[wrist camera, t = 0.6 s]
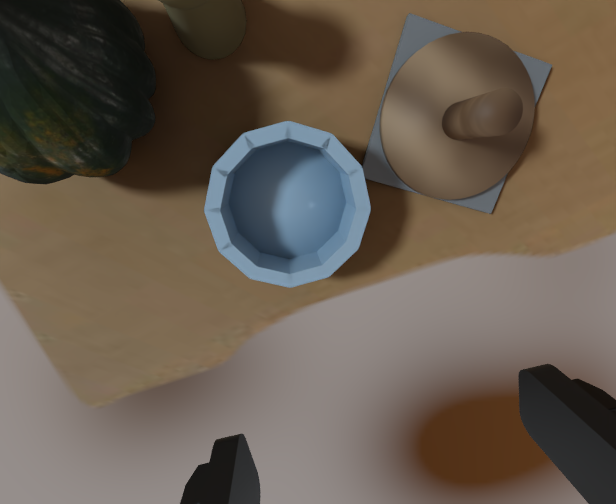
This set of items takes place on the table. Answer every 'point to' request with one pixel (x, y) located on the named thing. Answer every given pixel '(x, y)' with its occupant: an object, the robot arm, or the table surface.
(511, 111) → the lid
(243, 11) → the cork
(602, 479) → the robot arm
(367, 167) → the mat
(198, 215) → the table surface
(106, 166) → the squash
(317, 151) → the bowl
